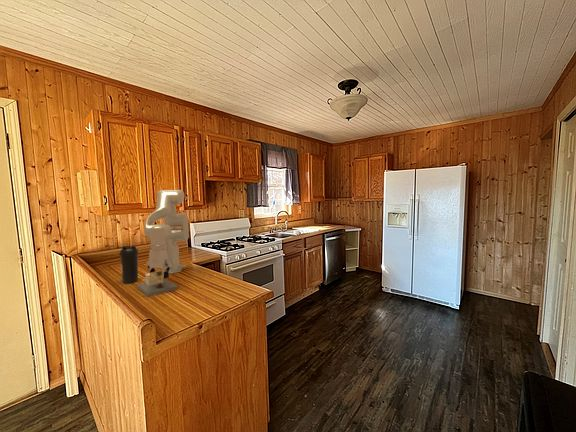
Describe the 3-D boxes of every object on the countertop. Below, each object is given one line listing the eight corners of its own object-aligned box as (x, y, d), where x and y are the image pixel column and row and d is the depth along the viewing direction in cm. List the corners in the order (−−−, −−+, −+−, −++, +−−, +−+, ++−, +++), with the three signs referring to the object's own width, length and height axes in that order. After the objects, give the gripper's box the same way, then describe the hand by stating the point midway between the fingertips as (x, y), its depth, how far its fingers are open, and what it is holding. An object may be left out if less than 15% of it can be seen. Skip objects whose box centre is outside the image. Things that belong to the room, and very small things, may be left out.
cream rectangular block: (159, 280, 159) (159, 271, 159) (163, 282, 155) (162, 273, 155) (145, 283, 154) (145, 273, 153) (148, 286, 149) (148, 275, 149)
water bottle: (123, 280, 168) (121, 245, 166) (140, 278, 171) (139, 244, 170) (119, 285, 158) (117, 248, 157) (137, 282, 162) (136, 246, 160)
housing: (165, 281, 164) (165, 278, 163) (177, 289, 149) (177, 285, 149) (137, 287, 152) (137, 284, 152) (147, 296, 138) (147, 292, 138)
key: (142, 291, 139) (141, 274, 139) (165, 284, 152) (165, 268, 151) (145, 292, 138) (144, 275, 138) (168, 284, 150) (167, 269, 150)
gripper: (140, 248, 145) (142, 278, 146) (166, 249, 140) (167, 280, 141) (151, 245, 152) (152, 274, 153) (175, 247, 147) (176, 276, 148)
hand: (159, 277), depth 147 cm, fingers open, 9 cm apart
